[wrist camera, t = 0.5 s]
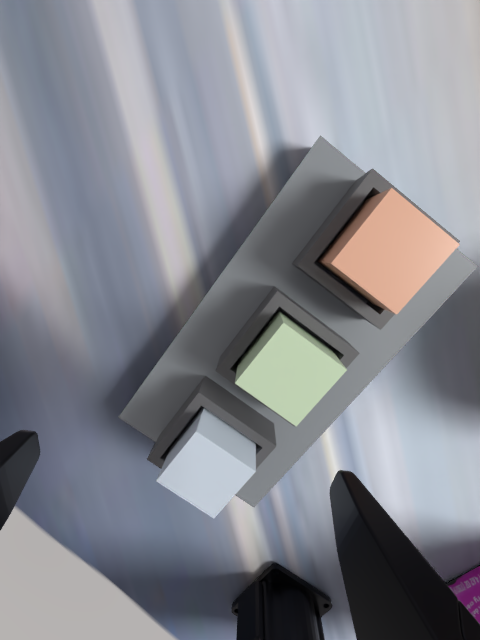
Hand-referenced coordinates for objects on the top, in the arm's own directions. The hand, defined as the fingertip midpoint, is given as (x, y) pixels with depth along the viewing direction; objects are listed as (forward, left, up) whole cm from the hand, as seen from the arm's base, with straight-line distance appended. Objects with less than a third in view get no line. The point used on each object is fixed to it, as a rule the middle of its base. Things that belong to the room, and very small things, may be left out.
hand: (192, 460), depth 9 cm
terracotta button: (-3, -10, -9) cm, 14 cm away
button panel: (-3, -2, -13) cm, 13 cm away
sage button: (-3, -2, -9) cm, 10 cm away
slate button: (-3, +5, -9) cm, 11 cm away
